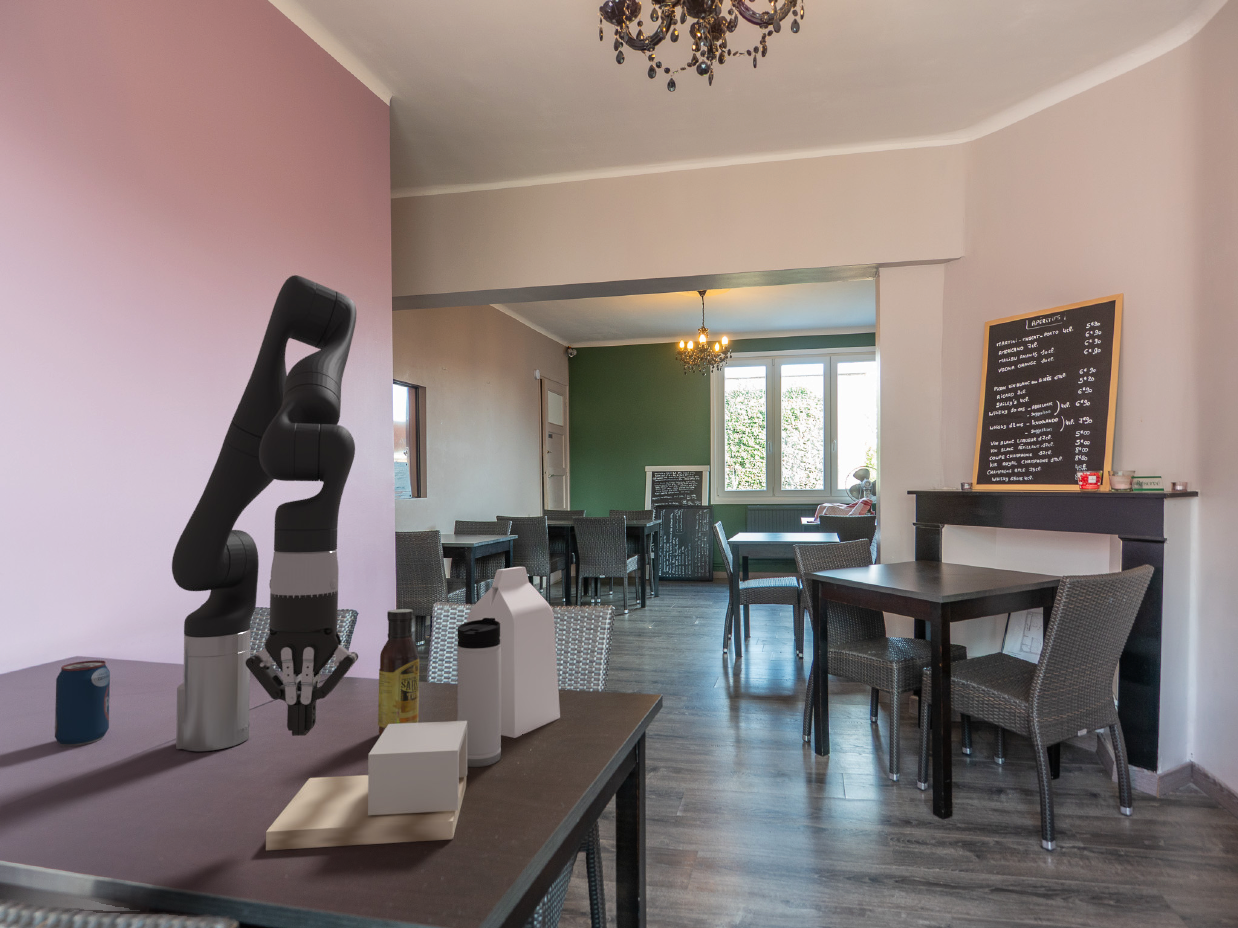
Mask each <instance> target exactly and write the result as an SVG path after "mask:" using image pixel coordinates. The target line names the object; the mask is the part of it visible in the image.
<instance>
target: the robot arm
mask: <svg viewBox="0 0 1238 928" xmlns="http://www.w3.org/2000/svg"><path fill="white" fill-rule="evenodd" d="M356 324H357V307H356V303H355V301H353V300H352V299H351V298H350V297H348V296H347V295H345V294H343V293H342V292H338V291H336V290H335V289H332V288H329V287H327V286H325V285H323V284H320V283H319V282H315V281H313V280H311V279H309V278H306V277H304V276H300V275H296V274H295V275H291V276H289V277H288V278H287V279H286V280H285V281H284V282H283V284H282V286H281V288H280V289H279V291H278V294H277V296H276V300H275V303H274V305H273V308H272V311H271V314H270V316H269V321H268V324H267V326H266V330H265V333H264V336H263V339H262V342H261V345H260V348H259V352H258V355H257V358H256V360H255V363H254V367H253V369H252V373H251V374H250V377H249V379H248V382H247V384H246V387H245V388H244V391H243V393H242V395H241V398H240V401H239V403H238V405H237V407H236V410H235V412H234V413H233V417H232V419H231V422H230V425H229V426H228V429H227V431H226V434H225V436H224V439H223V441H222V442H223V443H222V446H221V447H220V451H219V454H218V457H217V459H216V462H215V464H214V467H213V470H212V471H211V474H210V476H209V478H208V481H207V483H206V485H205V487H204V491H203V493H202V494H201V497H200V499H199V500H198V502H197V505H196V507H195V508H194V510H193V512H192V514H191V515H190V517H189V519H188V521H187V523H186V525H185V527H184V529H183V530H182V533H181V534H180V536H179V539H178V541H177V543H176V546H175V549H174V551H173V555H172V561H171V573H172V576H173V580H174V582H175V583H176V585H178V587H179V588H180V589H182V590H184V591H188V592H206V591H210V592H209V596H208V598H207V599H206V601H205V602H204V603H203V604H202V605H201V606H200V607H199V608H197V609H196V610H194V611H192V612H191V613H189V614H188V615H187V616H186V617H185V619H184V625H183V674H182V675H183V683H181V684H179V685H178V686H177V688H176V690H177V691H176V736H175V737H176V739H175V746H176V747H175V749H176V750H185V751H190V752H209V751H215V750H217V751H218V750H222V749H227V748H230V747H234V746H236V745H237V746H238V745H239V744H242V743H243V742H245V741H247V740H248V739H249V737H250V699H251V698H250V688H251V687H250V685H251V683H250V682H251V679H250V678H251V674H252V675H253V676H254V678H255V679H256V680H257V681H258V683H259V684H260V685H261V687H263V689H264V690H265V692H266V693H267V694H268V695H269V697H270V698H271V699H272V700H281V701H282V702H283V701H284V703H286V705H287V712H286V713H287V715H286V718H287V720H286V721H287V722H286V726H287V731H290V732H291V735H292V736H293V737H294V736H295V737H298V736H300V737H301V736H307V735H308V734H309V733H310V731H311V730H312V729H313V728H315V727H314V726H315V725H316V720H317V718H316V717H317V716H316V715H317V713H316V712H317V701H318V700H320V699H321V700H322V699H325V698H326V697H327V696H328V695H329V694H331V692H332V691H333V690H334V689H335V688H336V687H337V685H338V684H339V683H340V682H341V680H342V679H343V678H344V677H345V675H346V674H347V673H348V672H349V671H350V669H351V668H352V667H354V666H353V665H354V664H355V663H356V662H357V661H358V659H359V654H358V653H357V652H355V651H352V652H351V651H349V650H348V649H346V647H344V646H342V639H341V637H340V635H339V633H338V609H339V607H338V605H339V561H338V551H337V550H338V526H339V525H338V524H339V513H340V505H341V500H342V496H343V493H344V490H345V487H346V483H347V480H348V477H349V475H350V472H351V468H352V466H353V462H354V459H355V454H356V443H355V439H354V437H353V436H352V433H351V432H350V431H349V429H347V428H346V427H344V426H342V425H339V421H340V417H341V410H342V409H341V408H342V407H341V404H342V403H341V402H342V382H343V376H344V373H345V368H346V366H347V362H348V358H349V353H350V350H351V345H352V341H353V339H354V338H353V337H354V332H355V328H356ZM289 339H292V340H294V341H297V342H299V343H303V344H305V345H308V346H311V347H313V348H315V349H318V350H317V351H315V352H312V353H311V354H309V355H307V356H305V357H303V358H302V359H300V360H299V361H297V362H296V363H295V364H294V365H292V367H291V369H290V370H289V372H288V373H287V367H286V365H287V363H286V353H287V352H286V351H287V350H286V349H287V346H288V345H287V344H288V341H289ZM274 480H276V481H283V482H322V487H321V489H320V491H318V493H316V494H315V495H313V496H310V497H309V498H303V499H297V500H292V501H288V502H284V503H281V504H280V505H279V506H277V507H276V510H275V513H274V534H273V535H274V541H273V551H274V552H273V557H272V563H271V569H270V580H269V584H268V585H269V590H270V591H269V592H270V594H269V626H268V627H269V633H268V636H267V638H266V640H265V642H264V648H262V649H261V650H260V651H258V652H257V653H255V654H253V655H251V622H252V618H253V615H254V613H255V611H256V606H257V595H258V593H257V592H258V580H259V579H258V578H259V567H260V566H259V565H260V564H259V561H260V560H259V553H258V552H259V551H258V548H257V544H256V542H255V539H254V538H253V537H252V536H251V535H250V534H249V533H248V532H246V531H244V530H240V529H233V528H234V527H235V524H236V522H237V521H238V519H239V517H240V516H241V514H242V513H243V511H244V510H245V509H246V508H247V507H248V506H249V505H250V504H251V503H252V501H253V500H255V499H256V497H258V496H259V495H260V494H261V493H262V492H263V491H264V490H265V489H266V488H267V487H268V486H269V485H270V484H272V483H273V481H274ZM334 655H335V658H334V660H333V666H334V667H335V668H334V670H333V671H332V672H331V674H330V675H329V676H328V677H327V678H326V679H325V681H324V682H323V683H322V685H320V686H319V684H320V679H321V676H322V675H321V674H322V670H323V669H324V668H325V667H326V665H327V664H328V663H329V662H330V661H331V659H332V658H333V657H334ZM273 662H274V663H275V665H276V666H277V667H278V669H279V670H280V671H281V672H282V677H281V675H280V674H279V673H278V672H277V671H276V669H275V668H274V667H273V666H272V664H273Z"/></svg>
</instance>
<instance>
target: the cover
mask: <svg viewBox="0 0 1238 928" xmlns="http://www.w3.org/2000/svg"><path fill="white" fill-rule="evenodd" d="M367 755H368V759H367V761H368V763H367V764H368V765H367V769H368V770H367V771H368V773H367V775H368V815H383V814H401V813H419V812H437V811H454V810H458V807H459V777H466V778H467V776H468V766H467V721H457V720H452V721H431V722H430V721H429V722H425V721H424V722H418V723H401V724H388V726H387V727H386V729H385V730H384V732H383V733H382V735H381V736H380V735H379V738H378V739H377V741H376V742H375V744H374V745H373V747H372V748H371V750H370V752H369V753H368V754H367Z"/></svg>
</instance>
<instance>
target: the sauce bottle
mask: <svg viewBox="0 0 1238 928" xmlns="http://www.w3.org/2000/svg"><path fill="white" fill-rule="evenodd" d="M386 616H387V621H388V623H387V625H388V626H387V627H388V631H387V632H388V633H387V641H386V643H385V644H384V645H383V647H382V649H381V651H380V656H379V657H380V658H379V661H380V662H379V669H378V671H379V672H378V705H377V709H378V710H377V726H378V734H379V737H380V736H381V735H382V733H383V732H384V730H385V729H386V727H387V726H388V724H401V723H419V701H420V700H419V693H420V656H419V654H418V650H417V647H416V644H415V641H414V639H413V633H412V631H413V629H412V628H413V625H412V623H413V619H414V610H413V609H409V608H402V609H390V610H388V611H387V615H386Z"/></svg>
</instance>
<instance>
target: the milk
mask: <svg viewBox="0 0 1238 928" xmlns="http://www.w3.org/2000/svg"><path fill="white" fill-rule="evenodd" d="M483 618H495V621H498V622H499V623H500V637H499V638H500V643H501V646H500V648H501V736H504V737H509V738H514V739H515V738H518V737H520V736H523V735H525V734H527V733H529V732H532V731H533V730H536V729H538V728H540V727H542V726H545V725H548V724H549V723H552V722H554V721H556V720H558V719H560V718H561V710H560V695H559V694H560V693H559V676H558V663H557V645H556V631H555V616H554V611H553V609H552V607H551V604H549V603H548V601H547V600H546V599H545V598H544V597H543V596H542V594H540V592H539V591H538V590H537V589H536V588H535V586H533V584H532V583H531V582H530V581H529V577H528V572H527V568H526V567H525V566H514V567H509V568H508V567H507V568H501V569H496V571H495V575H494V579H493V581H492V585H491V587H490V588H489V589H488V590H487V591H486V592H485V594H484V595H482V597H481V598H480V599H479V600H478V601H477V602H475V604H474V605H473V606H472V607H471V609H470V610H469V612H468V614H467V619H466V622H470V621H475V620H482V619H483ZM522 734H523V735H522Z"/></svg>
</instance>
